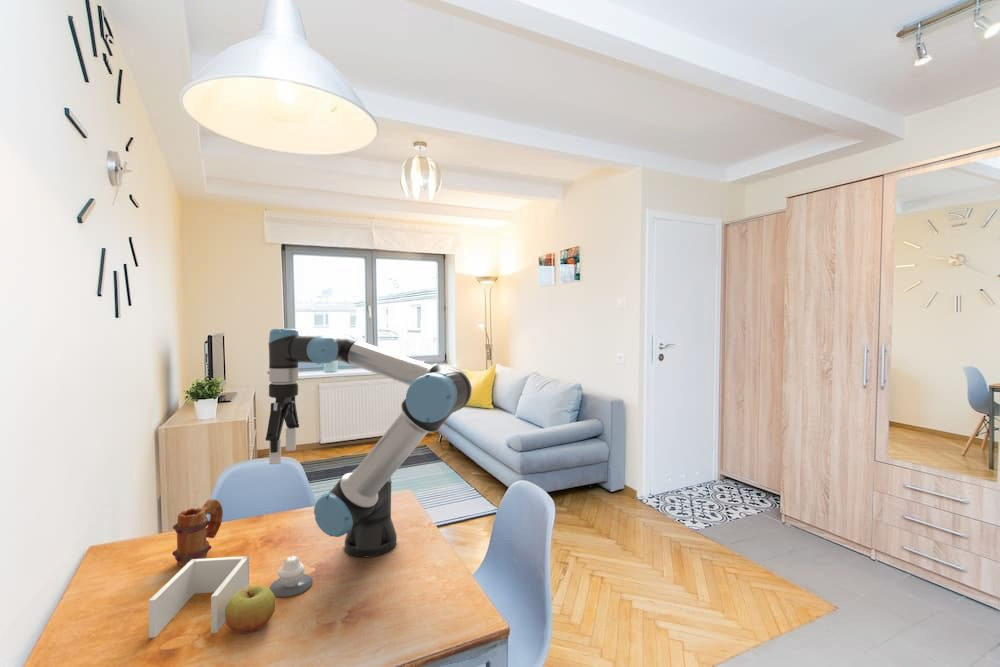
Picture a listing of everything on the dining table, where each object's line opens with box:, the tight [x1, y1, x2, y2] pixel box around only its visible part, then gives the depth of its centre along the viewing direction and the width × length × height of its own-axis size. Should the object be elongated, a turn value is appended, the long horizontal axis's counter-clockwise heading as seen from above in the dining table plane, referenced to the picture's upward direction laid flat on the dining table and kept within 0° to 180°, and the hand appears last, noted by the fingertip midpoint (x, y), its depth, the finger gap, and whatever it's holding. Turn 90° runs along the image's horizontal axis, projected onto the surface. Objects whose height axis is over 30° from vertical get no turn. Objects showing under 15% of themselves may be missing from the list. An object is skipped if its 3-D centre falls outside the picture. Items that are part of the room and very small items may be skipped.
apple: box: [225, 585, 276, 634], centre depth 101 cm, size 10×10×8 cm
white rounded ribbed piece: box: [277, 555, 305, 587], centre depth 116 cm, size 6×6×7 cm
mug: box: [172, 498, 224, 567], centre depth 130 cm, size 15×8×15 cm, turn 168°
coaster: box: [268, 573, 313, 599], centre depth 117 cm, size 10×10×1 cm
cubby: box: [148, 555, 250, 639], centre depth 106 cm, size 13×17×8 cm
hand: (283, 456), depth 131 cm, fingers open, 13 cm apart
